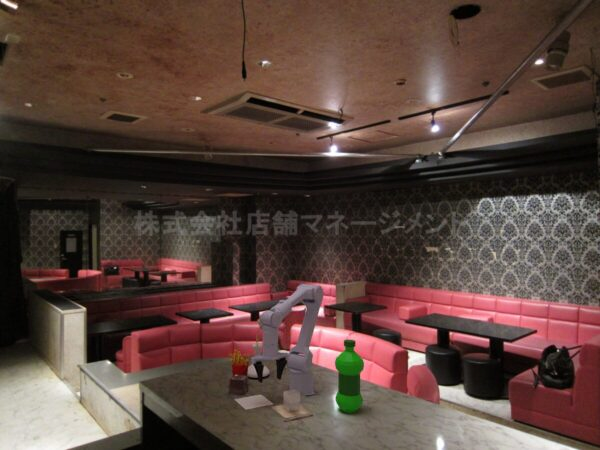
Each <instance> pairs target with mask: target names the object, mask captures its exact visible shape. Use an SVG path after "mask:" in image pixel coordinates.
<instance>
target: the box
mask: <svg viewBox="0 0 600 450" xmlns="http://www.w3.org/2000/svg"><path fill="white" fill-rule="evenodd" d="M228 390H229V395H233V396H245V395H246V393H248V392H249V376H246V375H234V376H233V375H232V376H231V377H230V378H229V389H228Z"/></svg>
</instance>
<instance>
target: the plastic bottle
mask: <svg viewBox="0 0 600 450" xmlns="http://www.w3.org/2000/svg"><path fill="white" fill-rule="evenodd" d="M343 346H344V350H343V351H342V352H340V354H338V356H336V358H335V361H334V367H335V369H336V370H337V372H338V374H337V375H338V383H337V384H338V386H337V390H338V391H337V393H336V395H335V402H336V403H335V404H336V405H337V406H338V407H339V409H340V410H341V411H342V412H344V413H346V414H353V412H354V413H356V411H358V410H359V409H360V408H361V406H362V405H363V402H364V401H363V396H362V394H361V373H362V372H363V371H364V367H365V362H364V359H363V357H362V356H361V355H359V354H358V352H356V351H355V347H356V340H354V339H344V340H343Z"/></svg>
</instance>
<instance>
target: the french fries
mask: <svg viewBox="0 0 600 450" xmlns="http://www.w3.org/2000/svg"><path fill="white" fill-rule="evenodd" d="M233 351H234V352H233V354H232V353H229V354H228V357H230V358H231V359H230V360H229V361H230V362H231V363H232V365H231V368H232V369H231V372H232V373H231V374H232V377H233V376H234V375H246V376H247V375H248V367H249V366H250V363H249V362H250V360H249V359H248V358H247V357H248V356H249V355H250V354H249V353H246V354H245V353H244V354H243V356H242V353H241V351H239V350H237V349H234V350H233Z"/></svg>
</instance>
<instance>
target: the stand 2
mask: <svg viewBox="0 0 600 450" xmlns="http://www.w3.org/2000/svg"><path fill="white" fill-rule="evenodd" d="M271 408H272V409H273V410H274V411H275V412H277V413H278V414H279V415H281V416H282V417H283V418H285V419H286V420H283V422H284V423H286V424H287V423H291V422H294V421H298V420H299V421H300V420H302V419H303V420H304V419H308V418H310V417H311V418H312V417H314V414H311V413H313V411H312V410H311V409H310V408H308V407H306V406H305V405H304V404H302V403H301V402H300V410H299V411H294V412H290V413H289V412H288V411H286V410H285V409H284V408H283V404H279V405H274V406H271ZM306 414H308V415H306ZM298 416H300V417H298ZM292 417H295V418H292ZM288 418H291V419H288Z"/></svg>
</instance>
